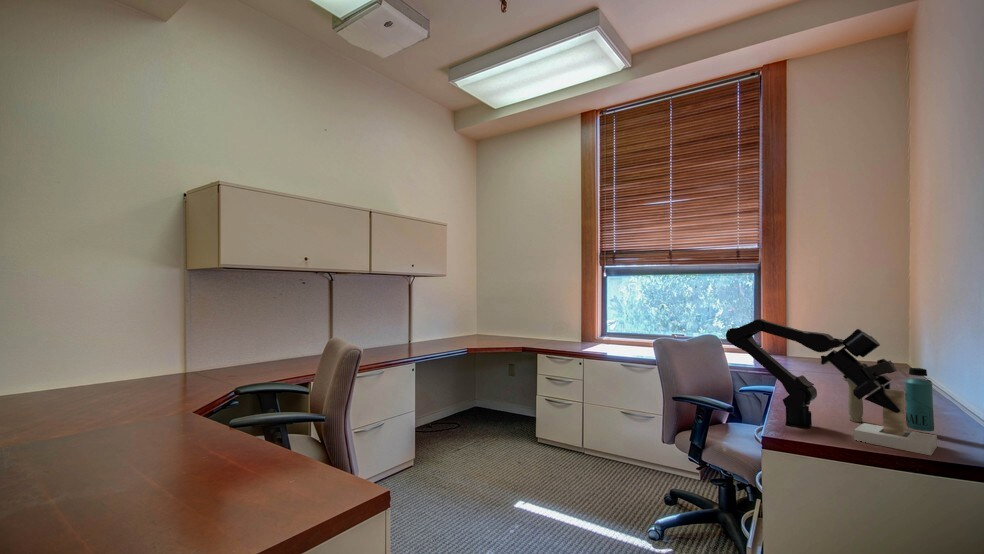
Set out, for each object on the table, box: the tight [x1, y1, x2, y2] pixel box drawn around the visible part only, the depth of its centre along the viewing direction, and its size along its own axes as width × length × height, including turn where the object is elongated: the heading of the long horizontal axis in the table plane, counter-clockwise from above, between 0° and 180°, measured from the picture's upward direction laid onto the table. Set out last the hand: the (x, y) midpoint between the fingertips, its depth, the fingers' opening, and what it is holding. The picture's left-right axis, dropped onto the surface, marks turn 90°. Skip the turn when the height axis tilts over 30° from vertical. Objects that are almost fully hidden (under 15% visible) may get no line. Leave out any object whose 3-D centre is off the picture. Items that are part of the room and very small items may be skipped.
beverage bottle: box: [904, 367, 935, 432], centre depth 137 cm, size 6×7×20 cm
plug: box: [882, 388, 906, 436], centre depth 127 cm, size 4×4×12 cm
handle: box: [842, 374, 864, 423], centre depth 151 cm, size 5×6×15 cm
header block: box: [853, 422, 938, 456], centre depth 127 cm, size 16×12×3 cm
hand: (900, 410), depth 126 cm, fingers closed on plug, 4 cm apart
